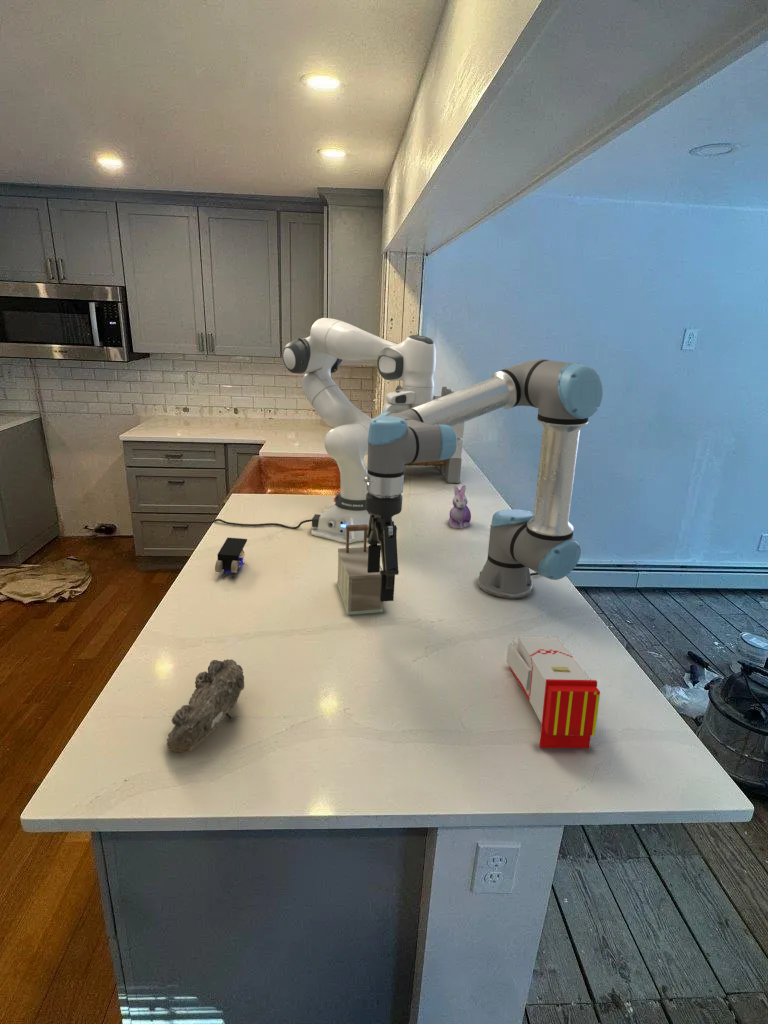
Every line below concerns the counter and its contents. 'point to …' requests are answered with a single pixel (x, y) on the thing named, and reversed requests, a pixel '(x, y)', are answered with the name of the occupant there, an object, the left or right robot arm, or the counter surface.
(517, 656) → the toy
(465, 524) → the figurine
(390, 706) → the counter surface
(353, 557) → the lid
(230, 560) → the figurine character
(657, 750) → the counter surface
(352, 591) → the chest
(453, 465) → the transformer
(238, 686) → the fossil
